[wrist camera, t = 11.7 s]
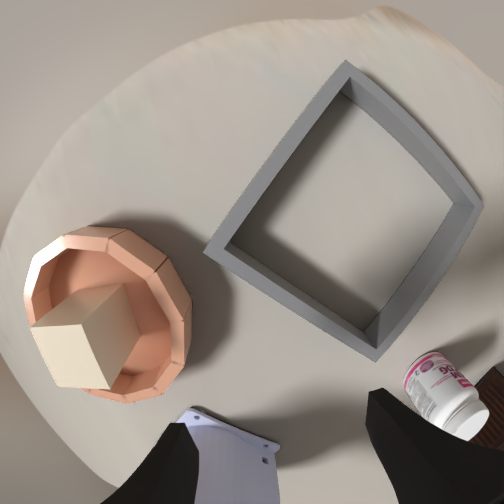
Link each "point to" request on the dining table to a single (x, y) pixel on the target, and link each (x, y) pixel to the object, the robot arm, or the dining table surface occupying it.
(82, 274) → the bowl
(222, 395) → the dining table surface
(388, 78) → the dining table surface
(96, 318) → the sandstone block
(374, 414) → the robot arm
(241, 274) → the tray
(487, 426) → the manual coffee grinder
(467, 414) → the pill bottle
